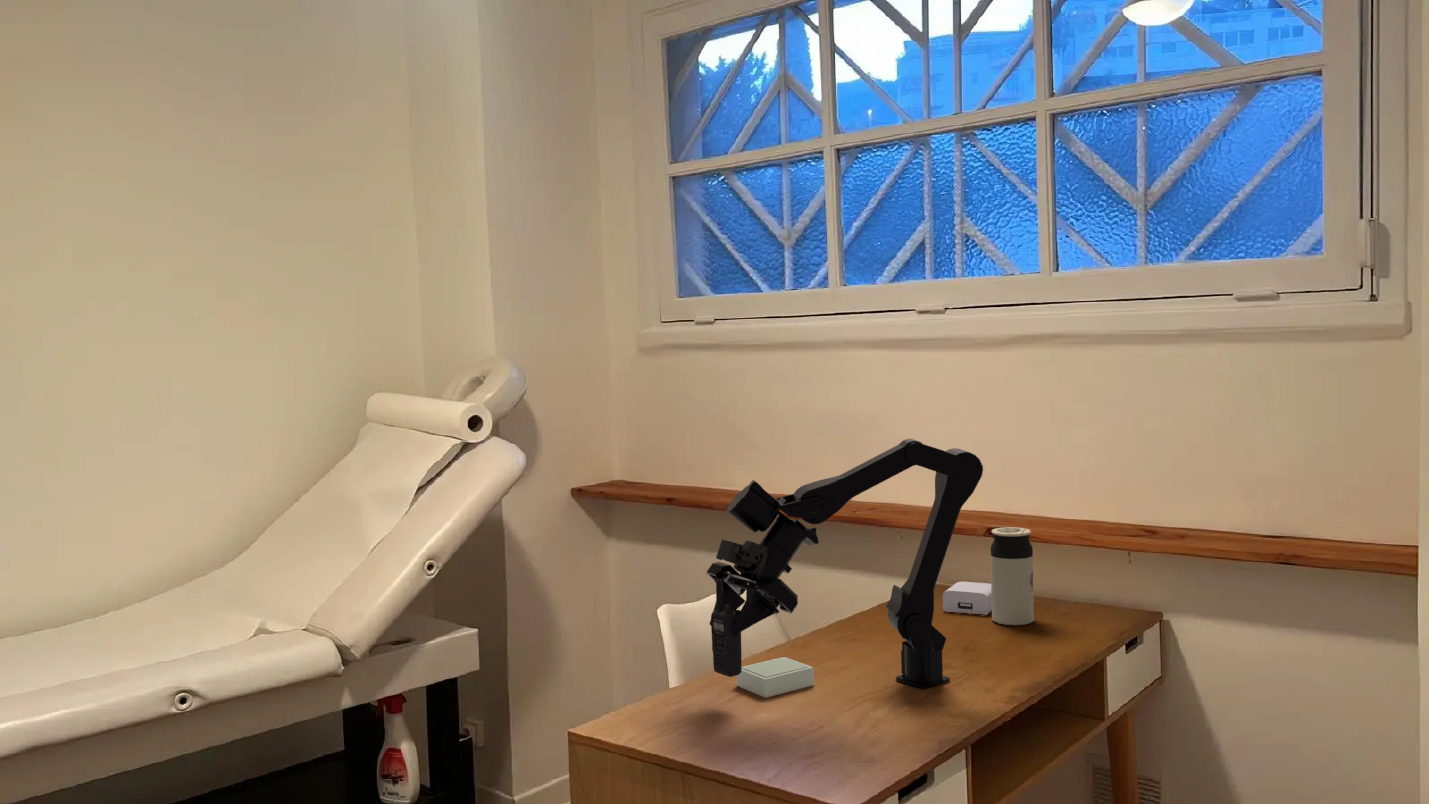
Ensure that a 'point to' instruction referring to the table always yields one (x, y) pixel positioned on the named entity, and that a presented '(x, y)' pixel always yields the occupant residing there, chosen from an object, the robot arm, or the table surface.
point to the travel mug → (1012, 576)
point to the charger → (968, 598)
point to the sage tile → (775, 677)
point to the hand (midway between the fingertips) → (721, 630)
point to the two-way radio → (725, 638)
